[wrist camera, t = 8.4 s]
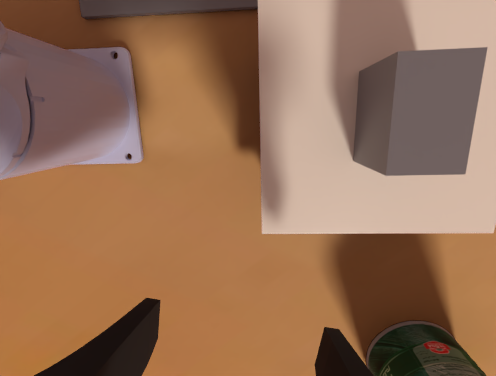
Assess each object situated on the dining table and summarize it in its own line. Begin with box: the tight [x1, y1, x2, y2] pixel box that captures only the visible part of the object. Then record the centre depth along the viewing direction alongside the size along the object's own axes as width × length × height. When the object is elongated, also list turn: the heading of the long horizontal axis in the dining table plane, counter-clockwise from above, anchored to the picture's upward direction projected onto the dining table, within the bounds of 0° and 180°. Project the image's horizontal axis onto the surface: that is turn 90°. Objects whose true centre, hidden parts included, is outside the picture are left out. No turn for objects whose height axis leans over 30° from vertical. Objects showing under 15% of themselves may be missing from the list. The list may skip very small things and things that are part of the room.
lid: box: [258, 0, 496, 234], centre depth 12 cm, size 13×13×5 cm
